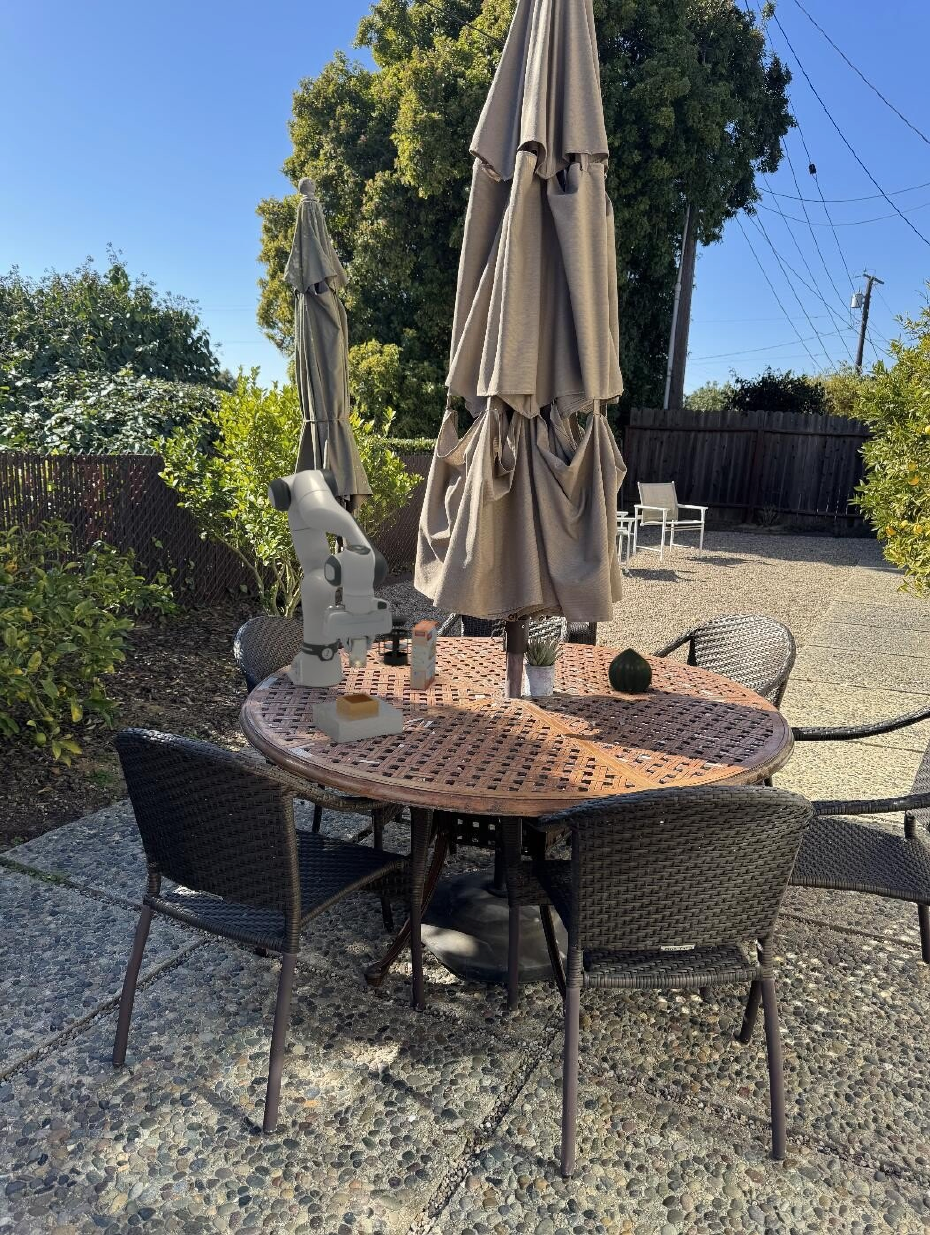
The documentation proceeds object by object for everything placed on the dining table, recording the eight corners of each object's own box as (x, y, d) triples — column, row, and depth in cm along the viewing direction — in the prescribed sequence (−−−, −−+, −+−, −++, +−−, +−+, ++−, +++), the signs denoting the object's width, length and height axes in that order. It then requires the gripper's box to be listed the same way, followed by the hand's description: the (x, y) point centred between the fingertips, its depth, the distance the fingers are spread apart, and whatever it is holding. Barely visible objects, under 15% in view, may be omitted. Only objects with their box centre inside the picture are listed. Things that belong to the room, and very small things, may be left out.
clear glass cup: (346, 664, 247) (346, 637, 246) (361, 662, 250) (361, 635, 248) (353, 668, 243) (353, 641, 242) (369, 666, 246) (369, 639, 244)
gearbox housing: (312, 724, 253) (312, 694, 251) (373, 713, 264) (374, 685, 262) (338, 744, 238) (339, 712, 236) (402, 732, 249) (403, 702, 247)
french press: (411, 659, 325) (412, 600, 320) (408, 666, 316) (410, 605, 311) (379, 658, 325) (381, 598, 320) (376, 665, 316) (377, 603, 311)
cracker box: (426, 691, 288) (428, 630, 284) (409, 689, 289) (410, 628, 285) (436, 679, 302) (438, 621, 297) (419, 677, 303) (421, 619, 298)
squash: (636, 685, 286) (650, 646, 292) (595, 677, 295) (611, 640, 300) (648, 705, 296) (662, 667, 302) (609, 697, 305) (623, 661, 310)
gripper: (328, 608, 235) (328, 658, 238) (395, 602, 246) (394, 649, 249) (319, 604, 240) (319, 652, 243) (384, 598, 251) (384, 644, 254)
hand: (357, 651), depth 246 cm, fingers closed on clear glass cup, 5 cm apart
